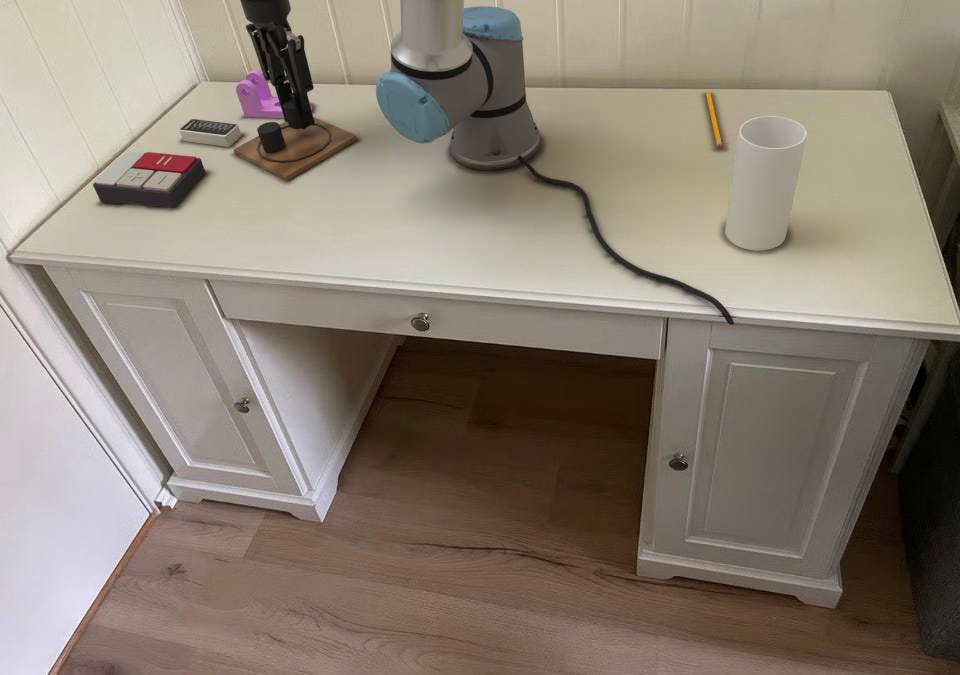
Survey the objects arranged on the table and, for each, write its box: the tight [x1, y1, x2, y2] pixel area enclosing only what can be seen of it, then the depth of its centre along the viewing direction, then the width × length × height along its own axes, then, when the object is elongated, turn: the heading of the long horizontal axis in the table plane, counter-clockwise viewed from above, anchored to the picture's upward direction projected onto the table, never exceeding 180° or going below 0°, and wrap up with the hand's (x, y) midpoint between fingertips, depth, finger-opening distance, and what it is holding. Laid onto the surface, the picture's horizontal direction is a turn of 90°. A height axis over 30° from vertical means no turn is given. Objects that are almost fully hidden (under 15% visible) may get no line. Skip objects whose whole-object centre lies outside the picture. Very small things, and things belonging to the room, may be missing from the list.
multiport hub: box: [178, 118, 243, 148], centre depth 147 cm, size 4×11×2 cm, turn 68°
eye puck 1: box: [256, 121, 286, 153], centre depth 140 cm, size 4×4×4 cm
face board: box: [233, 116, 358, 182], centre depth 142 cm, size 16×16×1 cm
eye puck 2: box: [283, 99, 301, 129], centre depth 141 cm, size 4×4×4 cm
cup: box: [724, 115, 808, 252], centre depth 106 cm, size 8×8×16 cm
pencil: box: [705, 91, 723, 150], centre depth 134 cm, size 1×18×1 cm, turn 174°
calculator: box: [92, 150, 206, 209], centre depth 136 cm, size 11×4×15 cm
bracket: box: [235, 69, 313, 119], centre depth 151 cm, size 13×6×7 cm, turn 76°
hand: (299, 121), depth 143 cm, fingers closed on eye puck 2, 4 cm apart
